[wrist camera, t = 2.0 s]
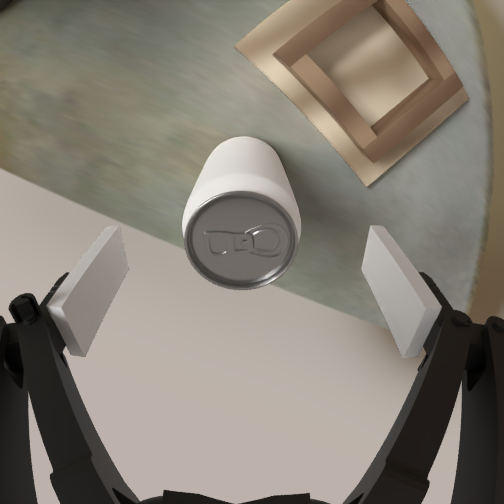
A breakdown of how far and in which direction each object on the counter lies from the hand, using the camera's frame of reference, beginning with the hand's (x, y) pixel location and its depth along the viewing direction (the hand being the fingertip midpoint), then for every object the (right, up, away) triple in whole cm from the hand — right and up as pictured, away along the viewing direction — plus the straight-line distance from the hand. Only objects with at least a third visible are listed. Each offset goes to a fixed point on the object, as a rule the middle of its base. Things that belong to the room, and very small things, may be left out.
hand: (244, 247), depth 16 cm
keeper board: (+10, +15, +5) cm, 18 cm away
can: (0, +7, +10) cm, 12 cm away
